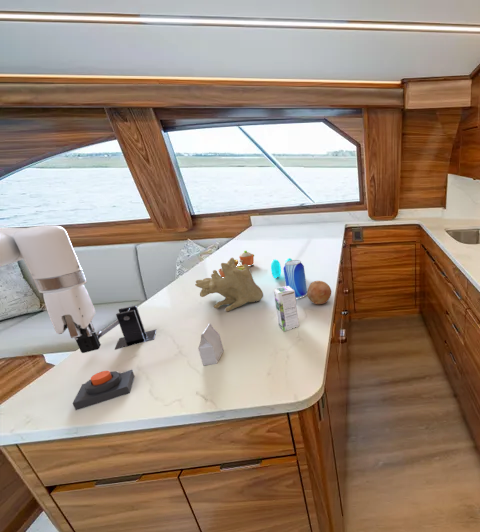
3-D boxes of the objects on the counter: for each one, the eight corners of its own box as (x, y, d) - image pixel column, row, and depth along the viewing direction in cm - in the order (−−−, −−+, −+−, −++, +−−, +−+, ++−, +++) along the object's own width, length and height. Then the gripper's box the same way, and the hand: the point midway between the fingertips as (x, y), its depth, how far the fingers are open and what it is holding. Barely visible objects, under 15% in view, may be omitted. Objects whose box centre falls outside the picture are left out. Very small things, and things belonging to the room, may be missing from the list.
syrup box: (278, 325, 108) (272, 289, 103) (294, 320, 112) (288, 284, 107) (283, 332, 104) (277, 294, 99) (300, 326, 107) (294, 289, 103)
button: (91, 387, 74) (88, 381, 73) (94, 379, 77) (92, 374, 76) (110, 382, 76) (108, 376, 75) (113, 374, 78) (111, 368, 78)
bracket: (115, 352, 94) (102, 319, 91) (120, 340, 101) (108, 309, 97) (155, 341, 100) (144, 310, 96) (157, 331, 106) (147, 301, 102)
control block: (75, 410, 71) (69, 397, 70) (85, 391, 78) (79, 378, 77) (129, 393, 77) (124, 380, 75) (134, 376, 83) (130, 364, 82)
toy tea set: (229, 265, 178) (225, 249, 175) (256, 262, 182) (254, 247, 178) (215, 280, 154) (211, 262, 151) (248, 277, 158) (244, 259, 155)
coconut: (337, 300, 128) (335, 278, 124) (321, 310, 119) (318, 287, 116) (319, 296, 132) (317, 275, 129) (303, 305, 124) (300, 283, 120)
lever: (97, 344, 92) (89, 340, 91) (102, 336, 97) (94, 331, 96) (134, 317, 96) (127, 313, 94) (137, 310, 100) (130, 306, 99)
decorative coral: (275, 281, 118) (212, 247, 109) (243, 330, 115) (175, 299, 106) (275, 275, 142) (223, 247, 133) (248, 316, 138) (193, 290, 129)
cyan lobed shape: (293, 279, 153) (290, 261, 149) (272, 281, 151) (269, 263, 147) (295, 273, 162) (292, 255, 159) (275, 275, 160) (272, 257, 157)
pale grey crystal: (223, 350, 94) (216, 322, 91) (217, 363, 88) (209, 333, 85) (210, 352, 93) (203, 324, 90) (203, 365, 87) (194, 335, 84)
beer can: (292, 292, 137) (287, 259, 132) (310, 292, 136) (305, 259, 131) (284, 300, 129) (279, 265, 124) (303, 300, 129) (299, 265, 123)
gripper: (50, 275, 71) (79, 341, 77) (21, 295, 59) (59, 371, 65) (92, 268, 75) (117, 331, 81) (74, 286, 63) (105, 359, 69)
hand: (91, 349), depth 73 cm, fingers closed
